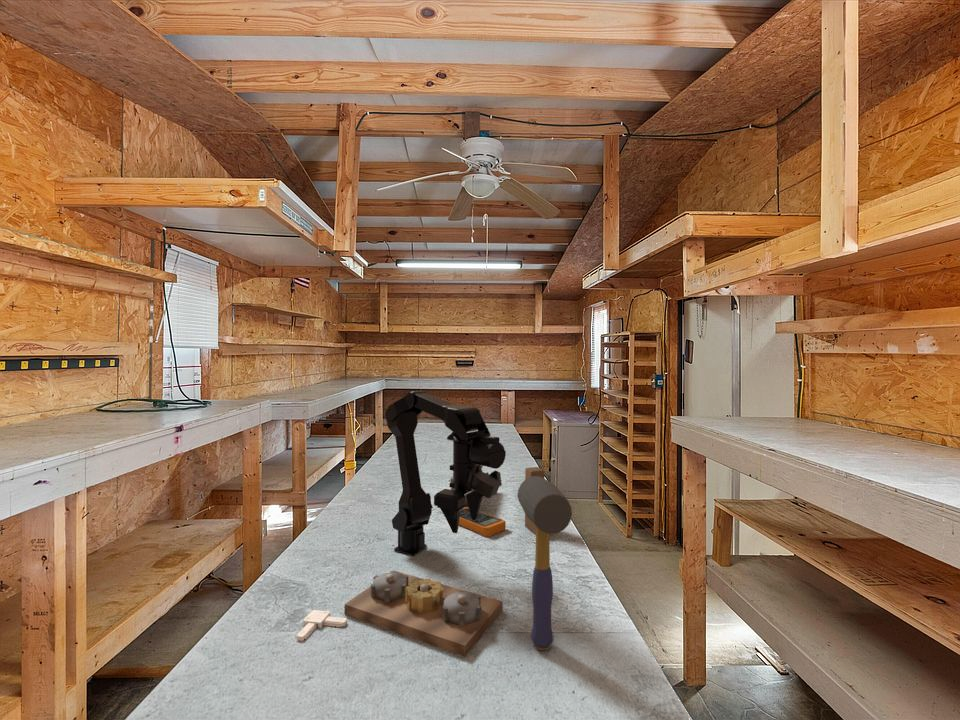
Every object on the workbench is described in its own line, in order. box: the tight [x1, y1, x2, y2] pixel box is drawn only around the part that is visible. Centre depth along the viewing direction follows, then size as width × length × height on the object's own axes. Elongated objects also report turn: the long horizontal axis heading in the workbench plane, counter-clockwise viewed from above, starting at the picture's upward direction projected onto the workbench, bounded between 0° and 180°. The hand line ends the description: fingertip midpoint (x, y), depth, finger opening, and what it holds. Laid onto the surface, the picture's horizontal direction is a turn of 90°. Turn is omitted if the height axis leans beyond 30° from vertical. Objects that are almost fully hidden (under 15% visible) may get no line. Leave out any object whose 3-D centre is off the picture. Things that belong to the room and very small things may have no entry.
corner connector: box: [296, 609, 348, 642], centre depth 88 cm, size 8×8×2 cm
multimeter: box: [459, 506, 507, 538], centre depth 140 cm, size 9×18×3 cm, turn 44°
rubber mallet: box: [517, 476, 573, 651], centre depth 82 cm, size 12×8×30 cm, turn 9°
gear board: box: [344, 570, 504, 658], centre depth 93 cm, size 28×16×6 cm, turn 63°
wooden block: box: [524, 466, 552, 536], centre depth 136 cm, size 9×4×18 cm, turn 19°
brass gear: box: [405, 578, 443, 614], centre depth 93 cm, size 8×8×3 cm
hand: (464, 526), depth 108 cm, fingers open, 9 cm apart
